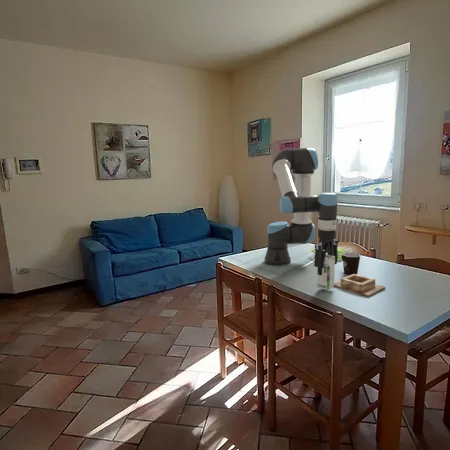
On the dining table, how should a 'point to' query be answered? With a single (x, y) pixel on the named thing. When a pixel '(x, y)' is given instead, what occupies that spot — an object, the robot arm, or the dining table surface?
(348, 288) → the wooden socket base
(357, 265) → the coffee mug
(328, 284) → the syrup box
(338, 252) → the figurine
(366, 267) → the dining table surface
